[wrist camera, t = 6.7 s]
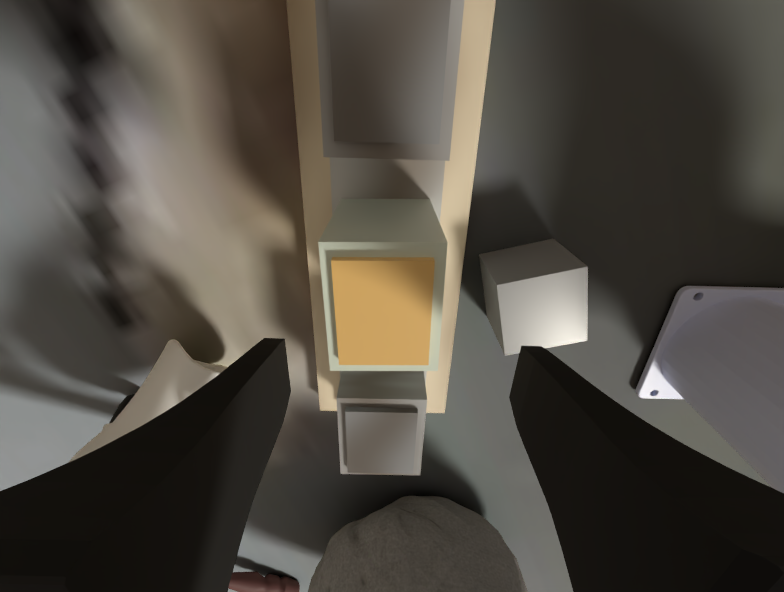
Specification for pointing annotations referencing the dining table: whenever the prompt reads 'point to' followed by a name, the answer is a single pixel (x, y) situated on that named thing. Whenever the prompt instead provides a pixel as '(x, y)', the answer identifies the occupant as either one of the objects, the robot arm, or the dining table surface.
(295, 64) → the rail board
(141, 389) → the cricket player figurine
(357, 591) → the rock
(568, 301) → the block
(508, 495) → the dining table surface
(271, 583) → the black tapered cylinder
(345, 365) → the block
